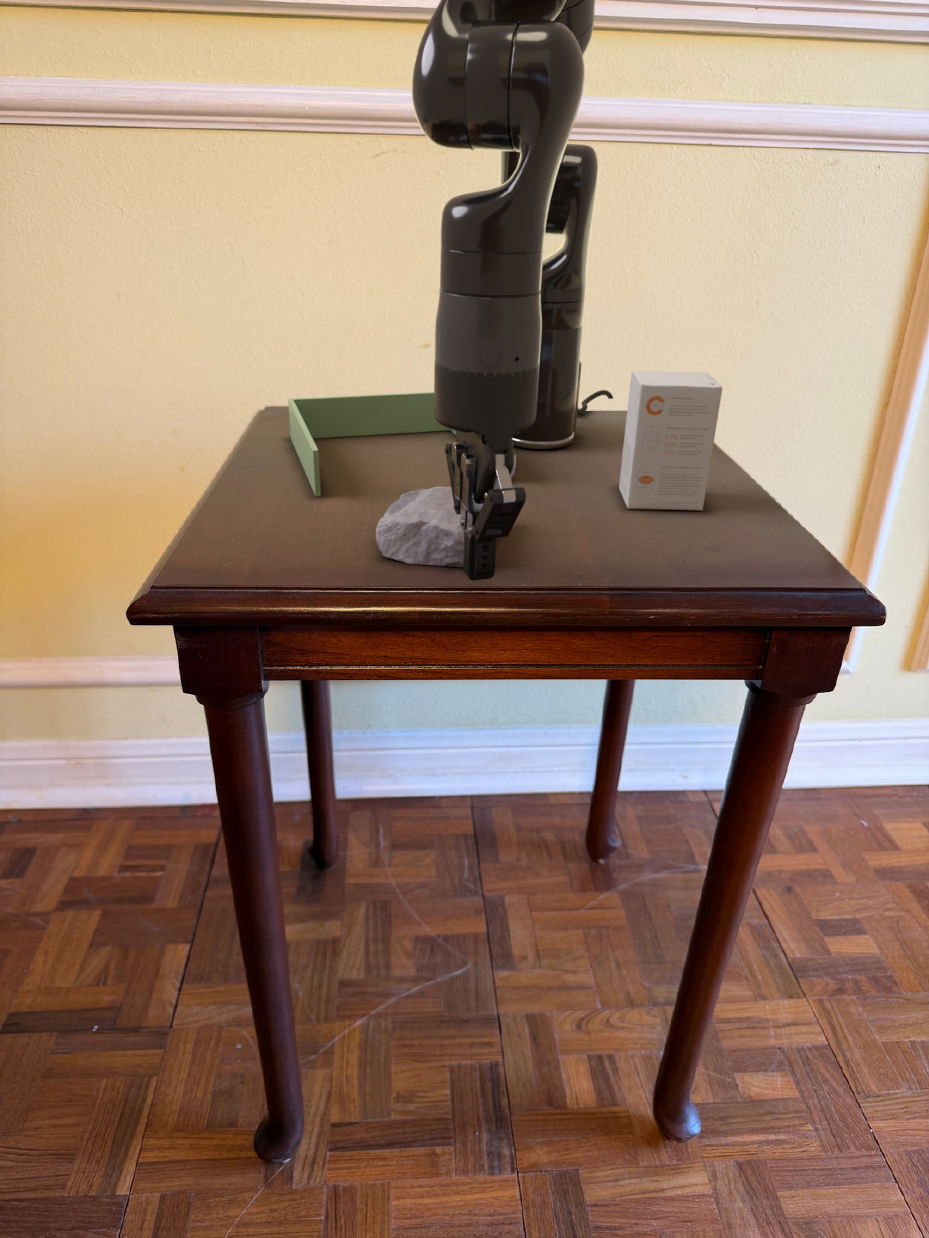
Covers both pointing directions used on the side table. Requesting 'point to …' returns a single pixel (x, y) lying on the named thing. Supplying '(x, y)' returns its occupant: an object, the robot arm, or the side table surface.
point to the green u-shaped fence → (355, 421)
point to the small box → (669, 439)
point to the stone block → (422, 529)
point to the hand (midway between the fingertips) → (478, 575)
